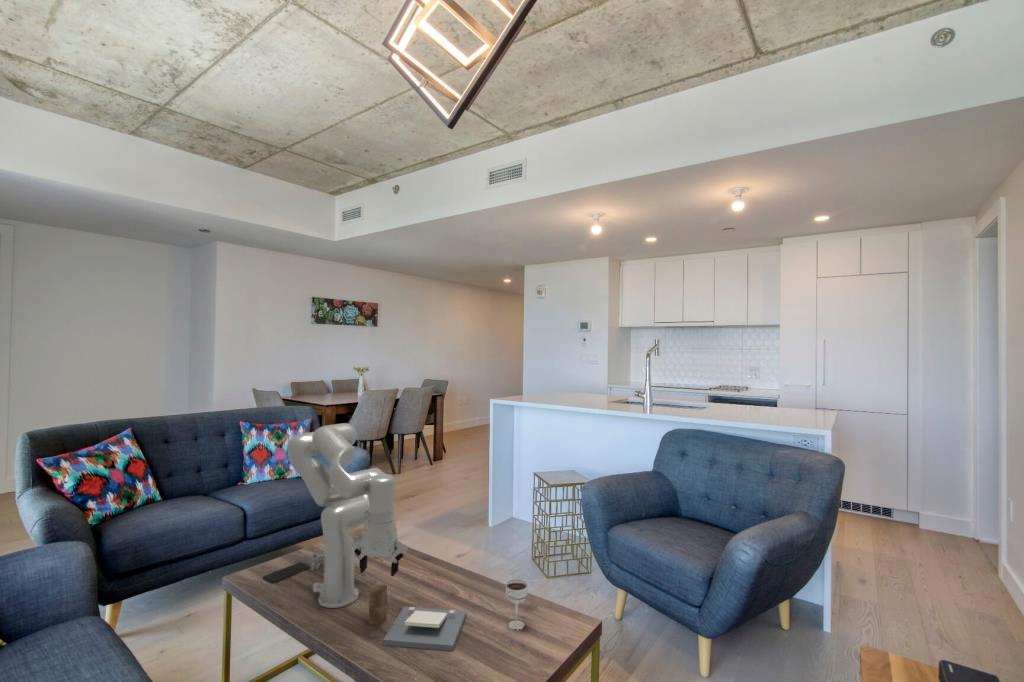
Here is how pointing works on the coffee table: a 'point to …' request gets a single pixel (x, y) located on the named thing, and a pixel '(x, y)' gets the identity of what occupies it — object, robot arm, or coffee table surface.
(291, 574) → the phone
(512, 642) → the coffee table surface
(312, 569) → the caliper
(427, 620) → the tile
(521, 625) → the wineglass
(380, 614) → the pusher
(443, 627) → the board
